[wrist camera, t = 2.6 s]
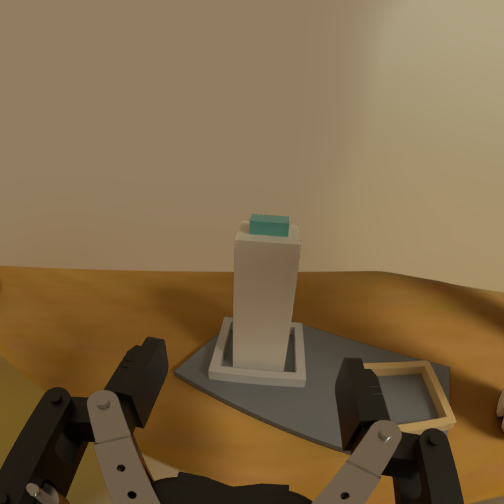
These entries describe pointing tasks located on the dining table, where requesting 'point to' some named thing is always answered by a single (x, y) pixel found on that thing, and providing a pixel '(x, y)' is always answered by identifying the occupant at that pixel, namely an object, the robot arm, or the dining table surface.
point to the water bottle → (501, 408)
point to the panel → (320, 384)
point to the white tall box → (264, 291)
